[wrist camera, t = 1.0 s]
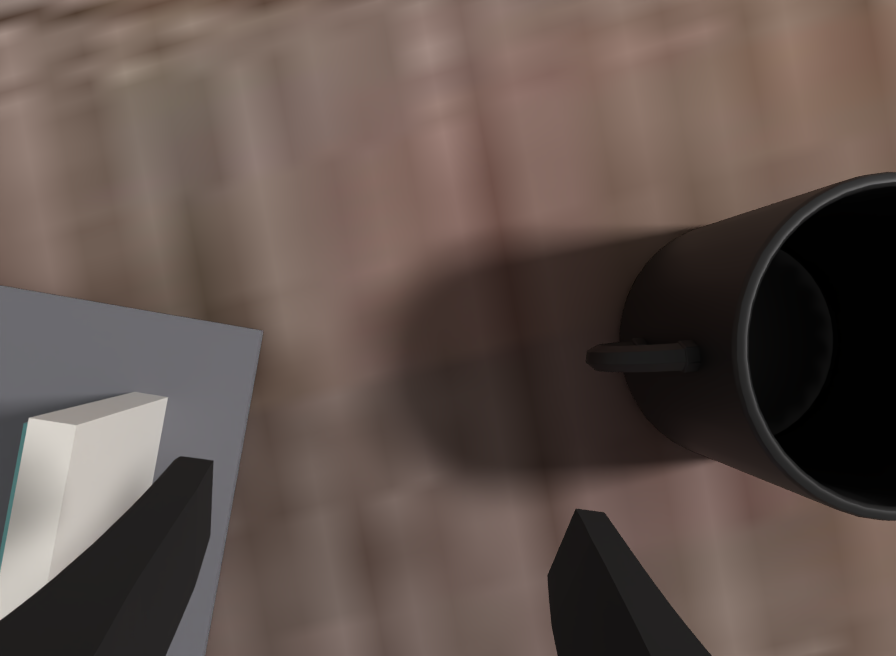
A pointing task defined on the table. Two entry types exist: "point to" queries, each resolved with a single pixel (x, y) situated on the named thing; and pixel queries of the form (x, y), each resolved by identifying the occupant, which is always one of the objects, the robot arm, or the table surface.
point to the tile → (74, 485)
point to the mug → (777, 344)
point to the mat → (125, 371)
